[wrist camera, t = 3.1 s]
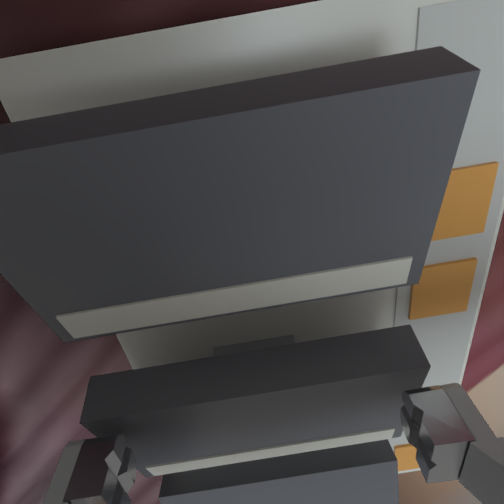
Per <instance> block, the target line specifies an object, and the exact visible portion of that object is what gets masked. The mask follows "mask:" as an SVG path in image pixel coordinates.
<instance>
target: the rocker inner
mask: <svg viewBox="0 0 504 504" xmlns="http://www.w3.org/2000/svg"><path fill="white" fill-rule="evenodd" d="M480 71H481V69H479V68H477V67H476V66H474V65H472V64H471V63H469V62H467V61H466V60H464V59H462V58H461V57H459V56H457V55H456V54H454V53H452V52H451V51H449V50H447V49H446V48H444V47H442V46H438V47H432V48H427V49H421V50H415V51H410V52H404V53H399V54H393V55H387V56H382V57H376V58H370V59H365V60H359V61H354V62H348V63H342V64H337V65H331V66H326V67H320V68H314V69H309V70H303V71H297V72H292V73H286V74H281V75H275V76H269V77H264V78H258V79H253V80H247V81H241V82H236V83H230V84H224V85H219V86H213V87H208V88H202V89H196V90H191V91H185V92H180V93H174V94H168V95H163V96H157V97H151V98H146V99H140V100H135V101H129V102H123V103H118V104H112V105H106V106H101V107H95V108H90V109H84V110H78V111H73V112H67V113H62V114H56V115H50V116H45V117H39V118H33V119H28V120H22V121H17V122H11V123H5V124H0V274H1V275H2V276H3V277H4V278H5V279H6V281H7V282H8V283H9V284H10V285H11V286H12V287H13V288H14V289H15V290H16V291H17V292H18V293H19V295H20V296H21V297H22V298H23V299H24V300H25V301H26V302H27V303H28V304H29V305H30V306H31V307H32V309H33V310H34V311H35V312H36V313H37V314H38V315H39V316H40V317H41V318H42V319H43V320H44V321H45V323H46V324H47V325H48V326H49V327H50V328H51V329H52V330H53V331H54V332H55V333H56V334H57V335H58V337H59V338H60V339H61V340H62V341H63V342H64V343H65V342H71V341H77V340H83V339H89V338H95V337H101V336H107V335H113V334H119V333H125V332H131V331H137V330H143V329H149V328H155V327H161V326H167V325H173V324H179V323H185V322H191V321H198V320H204V319H210V318H216V317H222V316H228V315H234V314H240V313H246V312H252V311H258V310H264V309H270V308H276V307H282V306H288V305H294V304H300V303H306V302H312V301H318V300H324V299H330V298H336V297H342V296H348V295H354V294H360V293H366V292H373V291H379V290H385V289H391V288H397V287H403V286H409V285H415V284H419V281H420V277H421V274H422V270H423V267H424V263H425V260H426V257H427V253H428V250H429V246H430V243H431V239H432V236H433V232H434V229H435V226H436V222H437V219H438V215H439V212H440V208H441V205H442V201H443V198H444V195H445V191H446V188H447V184H448V181H449V177H450V174H451V170H452V167H453V164H454V160H455V157H456V153H457V150H458V146H459V143H460V139H461V136H462V133H463V129H464V126H465V122H466V119H467V115H468V112H469V108H470V105H471V102H472V98H473V95H474V91H475V88H476V84H477V81H478V78H479V74H480Z"/></svg>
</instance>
